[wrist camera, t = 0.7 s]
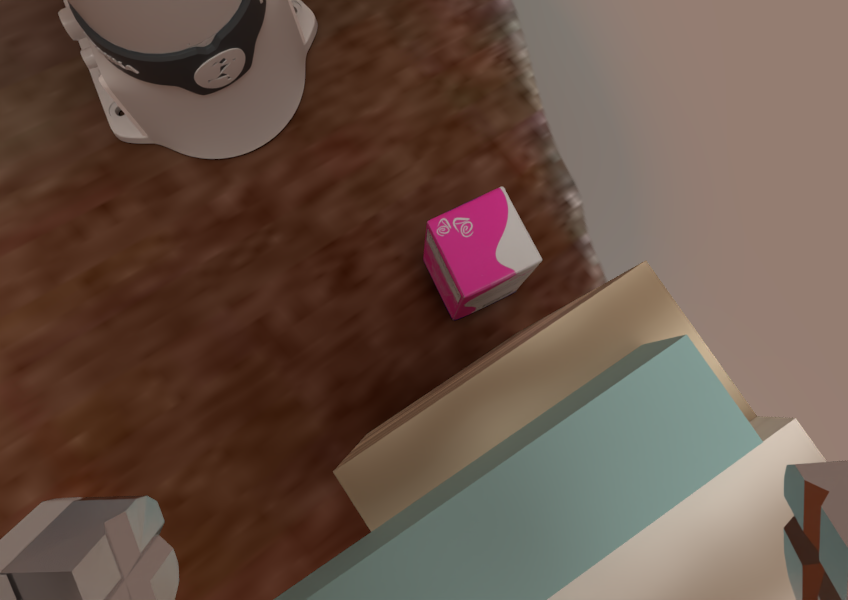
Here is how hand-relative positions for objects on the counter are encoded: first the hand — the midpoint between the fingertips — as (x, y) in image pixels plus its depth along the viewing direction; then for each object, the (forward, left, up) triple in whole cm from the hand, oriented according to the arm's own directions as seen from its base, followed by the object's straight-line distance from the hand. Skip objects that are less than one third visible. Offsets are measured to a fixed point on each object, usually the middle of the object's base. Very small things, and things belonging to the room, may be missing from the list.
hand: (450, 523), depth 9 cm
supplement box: (-7, +11, -45) cm, 47 cm away
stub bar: (+4, -1, -16) cm, 17 cm away
